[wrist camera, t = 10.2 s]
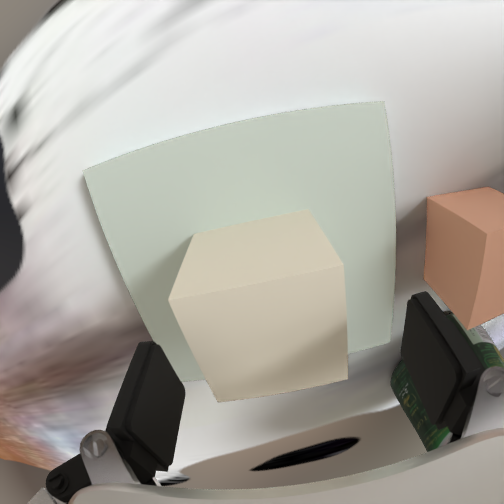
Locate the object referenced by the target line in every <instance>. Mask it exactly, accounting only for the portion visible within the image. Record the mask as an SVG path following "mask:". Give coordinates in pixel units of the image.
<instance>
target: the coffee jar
mask: <svg viewBox="0 0 504 504" xmlns="http://www.w3.org/2000/svg"><path fill="white" fill-rule="evenodd" d="M446 317H447V318H448V320H451V321H452V322H453V323H454V324H455V326H456V327H457V328H458V330H459V331H460V333H461V334H462V335H463V337H464V338H465V340H466V341H467V343H468V344H469V346H470V347H471V348H472V350H473V351H474V353H475V354H476V356H477V357H478V359H479V361H480V362H481V364H482V365H483V367H484V368H485V370H486V369H488V368H490V367H494V366H497V367H502V368H504V359H503V357H502V356H501V354H500V352H499V350H498V349H497V347H496V346H495V344H494V342H493V341H492V339H491V338H490V336H489V335H488V333H487V332H486V331H485V329H484V328H483V327H482V326H481V324H480V325H478V326H476V327H474V328H471V329H469V330H467V329H466V328H465V327H464V326H463V324H462V323H461V322H460V321H459V320H458V318H457V317H456V316H455V315H454V313H452V314H449V315H446ZM391 387H392V390H393V392H394V394H395V396H396V398H397V399H398V401H399V403H400V405H401V406H402V408H403V410H404V412H405V413H406V415H407V417H408V418H409V420H410V421H411V423H412V425H413V427H414V428H415V430H416V432H417V433H418V435H419V437H420V439H421V440H422V442H423V444H424V446H425V448H426V450H427V452H429V451H432V450H434V449H437V448H439V447H442V446H444V445H447V442H448V440H449V437H450V434H451V432H450V431H449V429H448V426H447V427H445V428H443V429H440V430H438V429H437V427H436V424H435V425H432V424H431V422H430V420H429V417H428V415H427V413H426V410H425V408H424V406H423V403H422V401H421V399H420V396H419V394H418V392H417V389H416V387H415V385H414V383H413V381H412V378H411V376H410V374H409V372H408V370H407V368H406V365H405V363H404V361H403V360H402V361H401V362H400V364H399V365H398V366H397V368H396V369H395V371H394V372H393V375H392V378H391Z"/></svg>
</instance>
